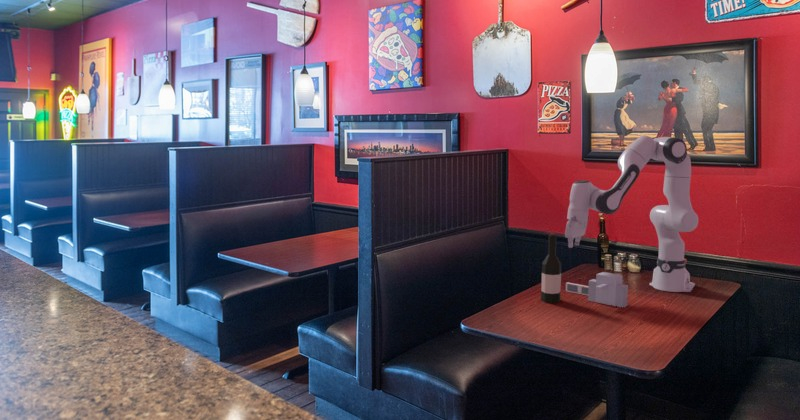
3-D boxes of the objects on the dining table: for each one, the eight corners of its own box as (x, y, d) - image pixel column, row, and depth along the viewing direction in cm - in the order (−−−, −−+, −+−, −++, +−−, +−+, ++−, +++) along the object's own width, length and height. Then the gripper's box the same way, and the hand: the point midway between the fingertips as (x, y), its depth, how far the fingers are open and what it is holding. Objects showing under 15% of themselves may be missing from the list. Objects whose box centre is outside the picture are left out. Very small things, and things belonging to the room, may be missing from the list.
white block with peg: (594, 297, 272) (595, 270, 270) (629, 304, 261) (630, 276, 259) (580, 303, 263) (581, 275, 261) (615, 311, 252) (616, 282, 250)
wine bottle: (558, 298, 272) (560, 232, 268) (561, 303, 264) (563, 235, 260) (539, 297, 273) (541, 231, 269) (542, 302, 265) (544, 235, 261)
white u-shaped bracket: (576, 286, 291) (577, 278, 290) (604, 292, 281) (604, 283, 280) (565, 291, 283) (565, 282, 283) (593, 296, 273) (593, 288, 273)
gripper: (577, 218, 262) (573, 249, 263) (590, 216, 279) (586, 245, 281) (563, 216, 265) (559, 247, 267) (576, 214, 282) (572, 243, 284)
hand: (573, 246), depth 274 cm, fingers open, 8 cm apart
